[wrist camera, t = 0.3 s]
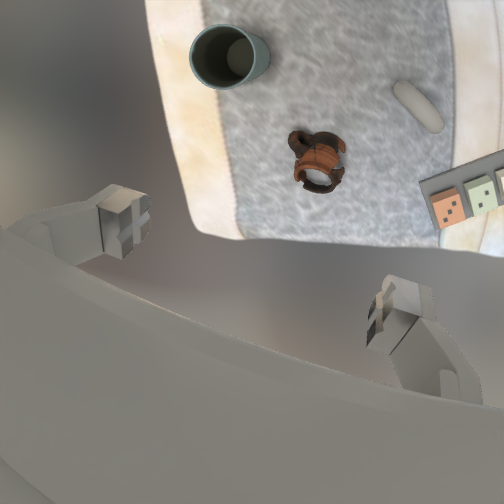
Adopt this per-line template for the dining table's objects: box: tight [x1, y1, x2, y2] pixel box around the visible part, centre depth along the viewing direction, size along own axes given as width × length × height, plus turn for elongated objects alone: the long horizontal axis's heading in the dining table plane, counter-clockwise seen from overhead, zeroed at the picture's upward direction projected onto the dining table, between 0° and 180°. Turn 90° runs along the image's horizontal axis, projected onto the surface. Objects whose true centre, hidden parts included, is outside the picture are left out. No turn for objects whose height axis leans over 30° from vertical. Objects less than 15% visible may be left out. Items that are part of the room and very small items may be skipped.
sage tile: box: [463, 175, 498, 217], centre depth 43 cm, size 5×5×3 cm
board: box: [419, 149, 504, 230], centre depth 45 cm, size 21×10×2 cm, turn 123°
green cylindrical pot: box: [189, 24, 270, 90], centre depth 42 cm, size 10×10×12 cm
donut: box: [393, 80, 444, 134], centre depth 39 cm, size 10×4×10 cm, turn 54°
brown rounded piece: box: [288, 131, 345, 194], centre depth 52 cm, size 12×9×8 cm
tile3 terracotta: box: [430, 188, 466, 229], centre depth 47 cm, size 5×5×3 cm
